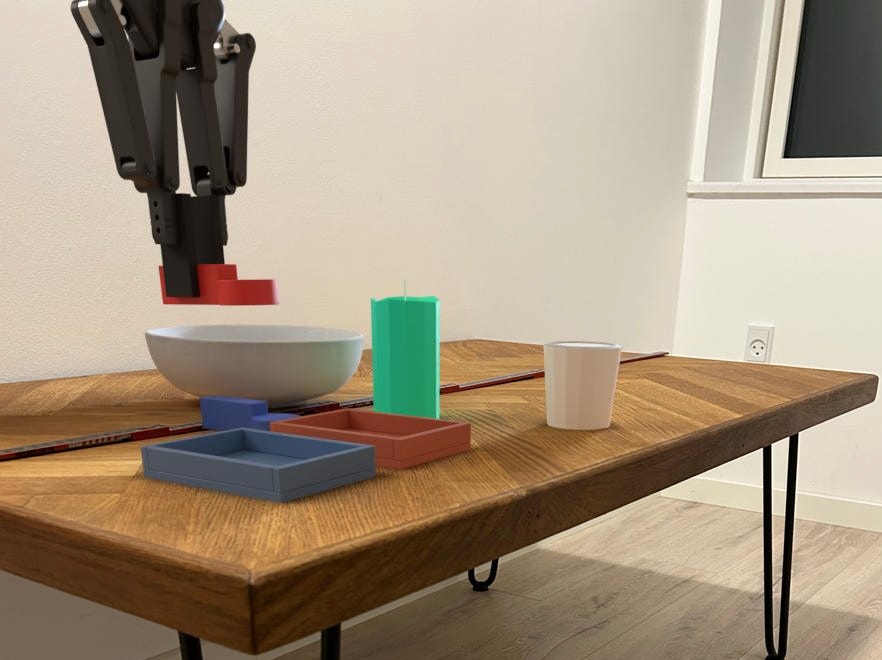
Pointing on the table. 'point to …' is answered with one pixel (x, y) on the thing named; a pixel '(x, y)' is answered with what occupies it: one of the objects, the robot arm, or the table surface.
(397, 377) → the candle
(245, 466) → the blue tray
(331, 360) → the serving bowl
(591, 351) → the white cup
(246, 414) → the blue rounded step block
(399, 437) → the red tray
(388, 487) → the table surface
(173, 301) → the red rounded step block
